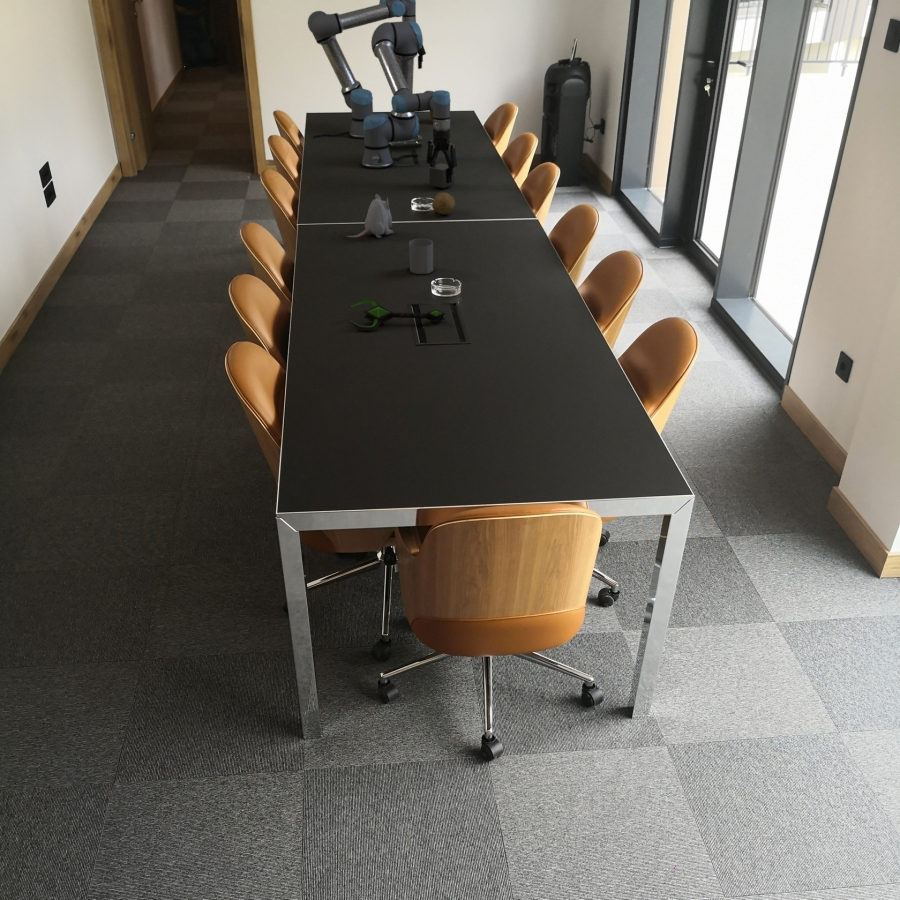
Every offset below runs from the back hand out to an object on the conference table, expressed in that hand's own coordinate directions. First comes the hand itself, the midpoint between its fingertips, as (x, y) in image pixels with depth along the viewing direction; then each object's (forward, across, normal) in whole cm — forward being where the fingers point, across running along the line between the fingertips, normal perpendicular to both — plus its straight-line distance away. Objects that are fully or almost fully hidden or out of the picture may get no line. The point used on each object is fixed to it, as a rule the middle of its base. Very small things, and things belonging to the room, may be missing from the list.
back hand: (410, 67), depth 481 cm
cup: (+32, +136, -181) cm, 229 cm away
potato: (+32, +106, -123) cm, 166 cm away
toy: (+32, +100, -165) cm, 195 cm away
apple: (+32, +8, +16) cm, 37 cm away
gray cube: (+30, +84, -92) cm, 128 cm away
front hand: (+29, +84, -92) cm, 127 cm away
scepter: (+32, +156, -222) cm, 273 cm away
